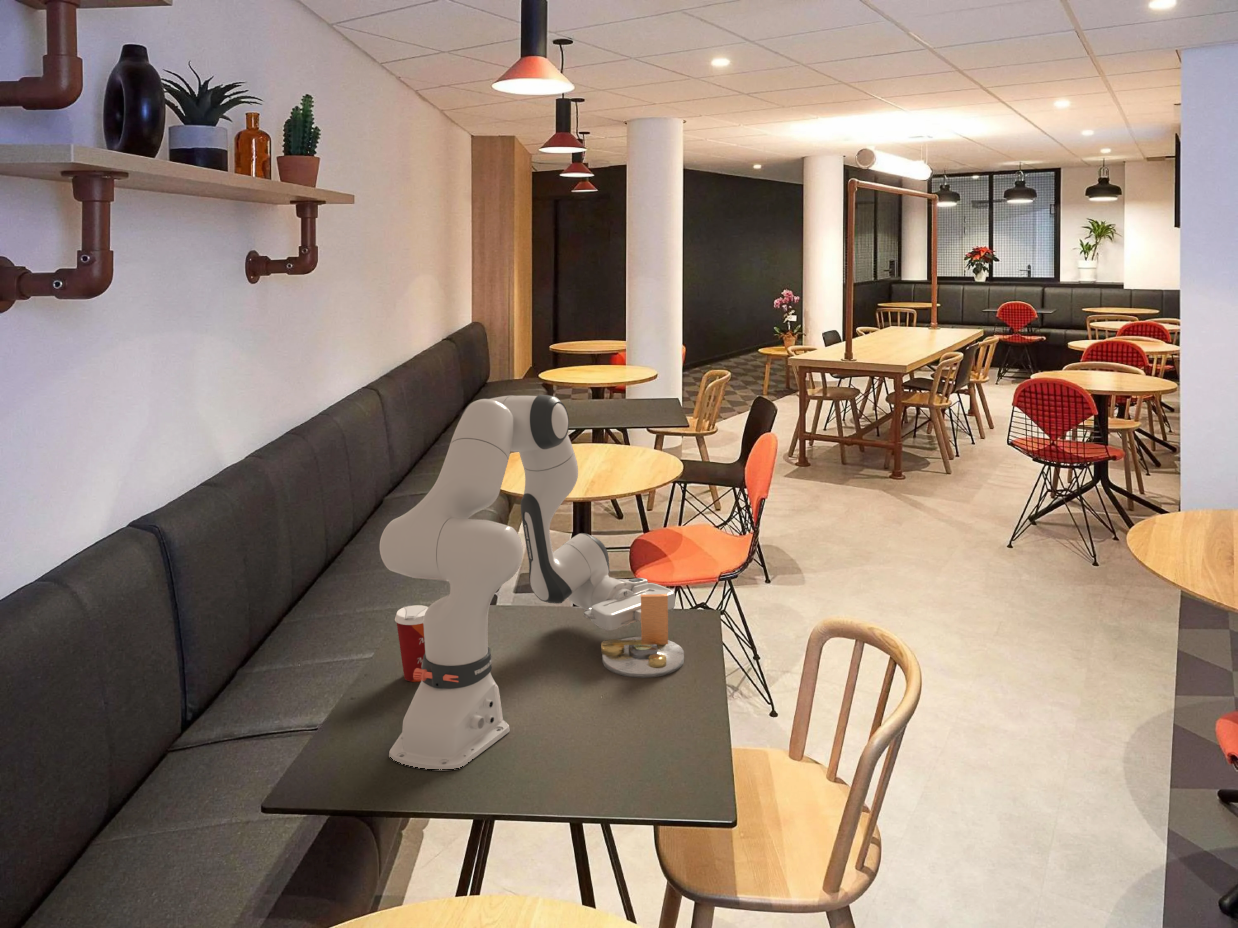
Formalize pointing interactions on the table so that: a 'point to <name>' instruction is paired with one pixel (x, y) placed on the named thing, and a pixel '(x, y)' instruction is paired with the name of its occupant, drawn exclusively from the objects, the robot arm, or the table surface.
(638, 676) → the levelling base
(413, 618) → the paper cup
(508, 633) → the table surface
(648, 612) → the vane knob
